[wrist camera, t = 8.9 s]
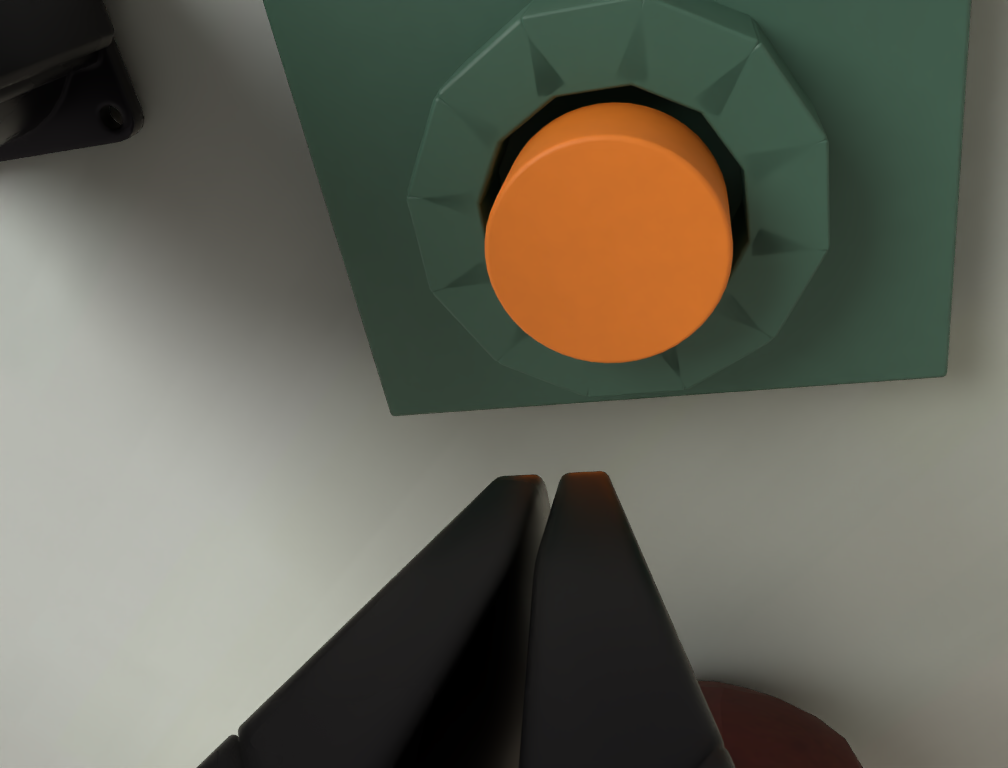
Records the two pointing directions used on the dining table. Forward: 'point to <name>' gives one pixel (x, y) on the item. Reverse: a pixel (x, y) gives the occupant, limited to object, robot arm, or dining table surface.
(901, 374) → the tap control
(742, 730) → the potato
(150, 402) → the dining table surface
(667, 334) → the button
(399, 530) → the dining table surface
